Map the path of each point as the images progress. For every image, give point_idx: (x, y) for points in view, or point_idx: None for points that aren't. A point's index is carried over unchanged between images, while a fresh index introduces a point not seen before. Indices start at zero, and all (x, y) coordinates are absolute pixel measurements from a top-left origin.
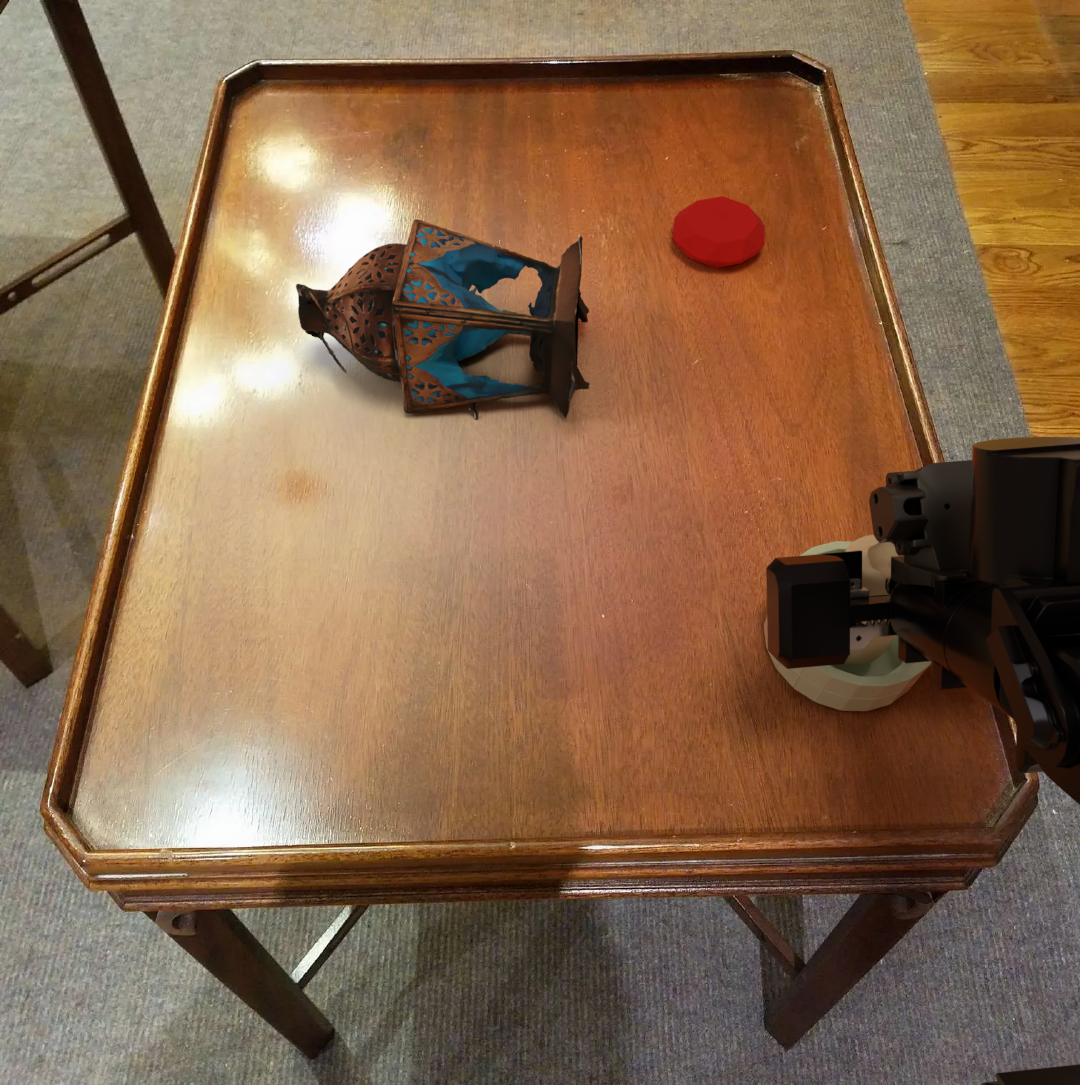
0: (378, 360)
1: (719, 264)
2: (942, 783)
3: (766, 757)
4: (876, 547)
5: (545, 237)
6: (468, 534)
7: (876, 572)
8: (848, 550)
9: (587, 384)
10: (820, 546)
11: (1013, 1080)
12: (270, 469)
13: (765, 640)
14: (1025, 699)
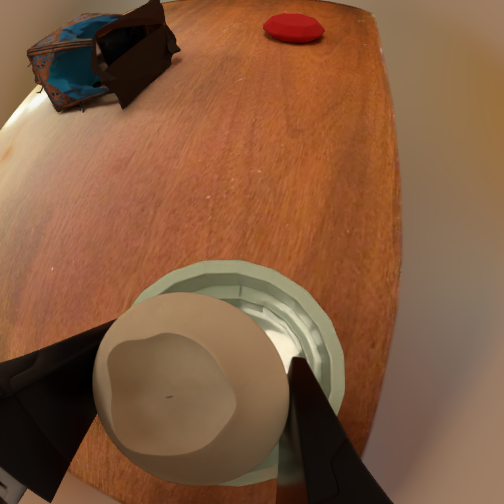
0: (37, 83)
1: (286, 37)
2: None
3: (111, 447)
4: (155, 343)
5: (195, 30)
6: (31, 186)
7: (108, 413)
8: (121, 317)
9: (112, 78)
10: (214, 262)
11: None
12: (6, 145)
13: None
14: None
